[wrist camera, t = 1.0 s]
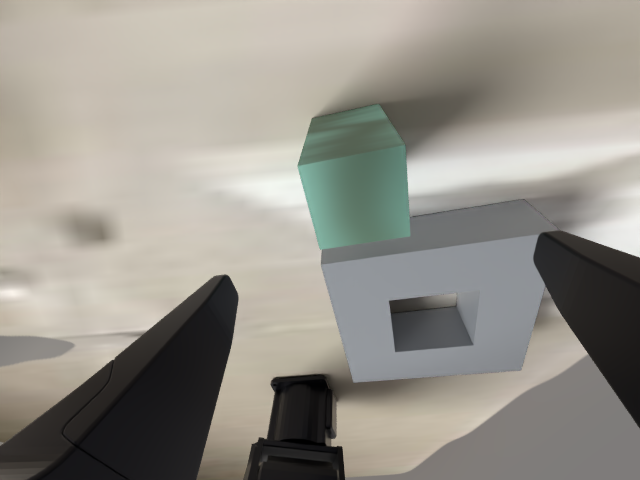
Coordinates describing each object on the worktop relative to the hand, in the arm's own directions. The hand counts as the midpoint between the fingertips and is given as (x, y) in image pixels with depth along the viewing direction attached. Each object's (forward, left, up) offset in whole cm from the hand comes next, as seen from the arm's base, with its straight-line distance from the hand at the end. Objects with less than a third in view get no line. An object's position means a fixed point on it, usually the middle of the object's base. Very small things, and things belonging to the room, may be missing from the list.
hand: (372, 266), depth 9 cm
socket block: (+4, -13, -12) cm, 18 cm away
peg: (0, 0, -12) cm, 12 cm away
